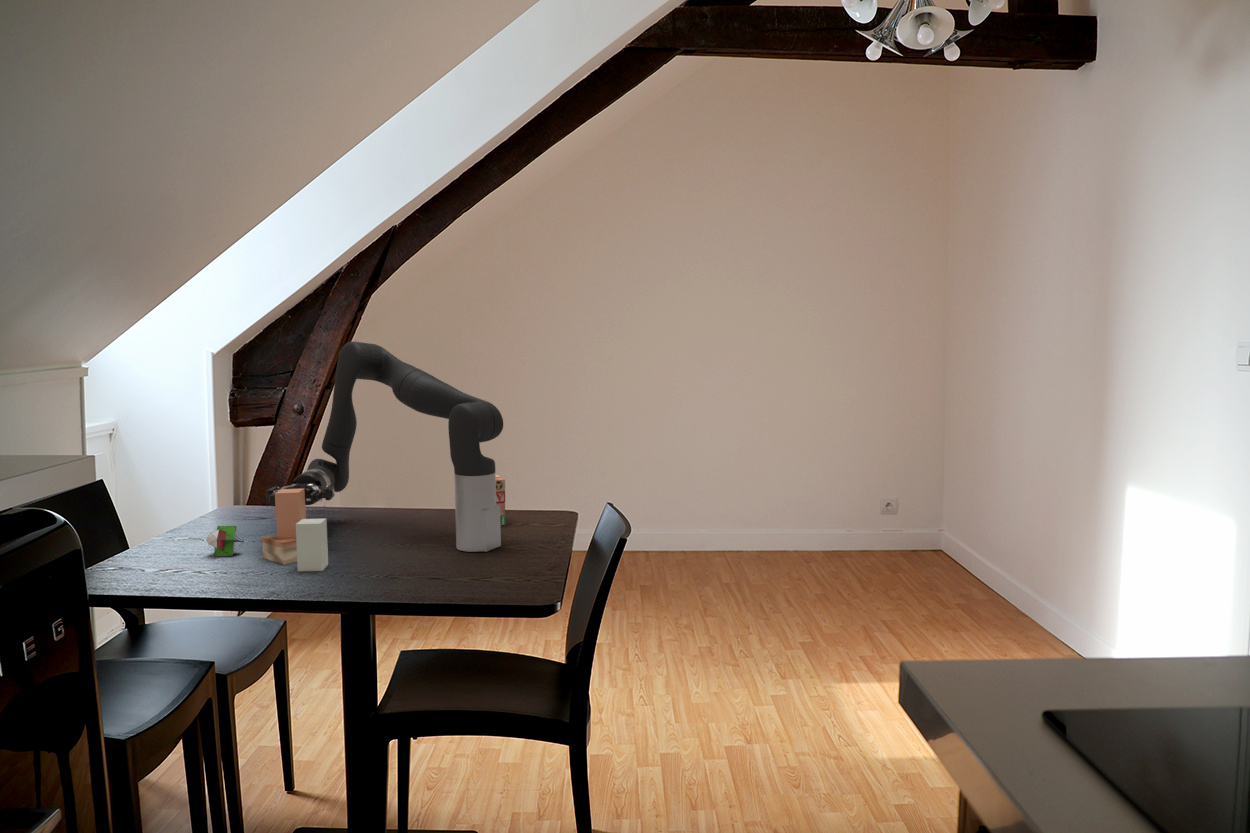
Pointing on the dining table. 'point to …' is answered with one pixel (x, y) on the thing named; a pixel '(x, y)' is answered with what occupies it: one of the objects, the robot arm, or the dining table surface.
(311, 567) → the sage block
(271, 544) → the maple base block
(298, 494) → the terracotta block
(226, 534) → the geometric puzzle
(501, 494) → the stack of blocks
